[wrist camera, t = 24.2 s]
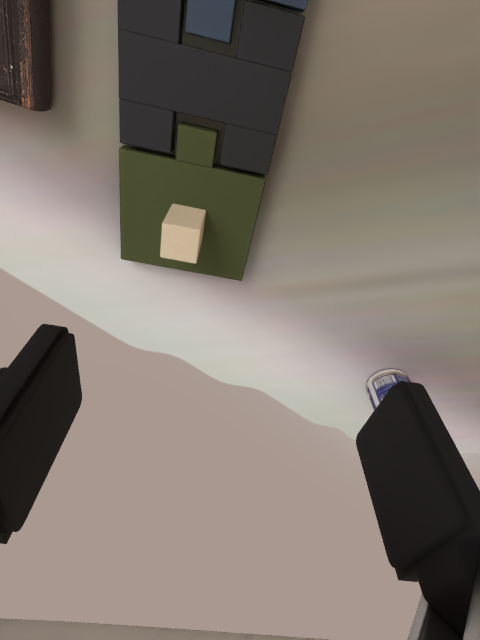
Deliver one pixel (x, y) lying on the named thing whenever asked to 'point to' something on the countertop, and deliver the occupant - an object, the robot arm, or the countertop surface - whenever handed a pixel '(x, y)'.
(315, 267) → the countertop surface
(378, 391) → the pill bottle
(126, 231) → the olive tile
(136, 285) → the countertop surface
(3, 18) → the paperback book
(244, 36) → the base tile
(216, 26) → the slate tile
